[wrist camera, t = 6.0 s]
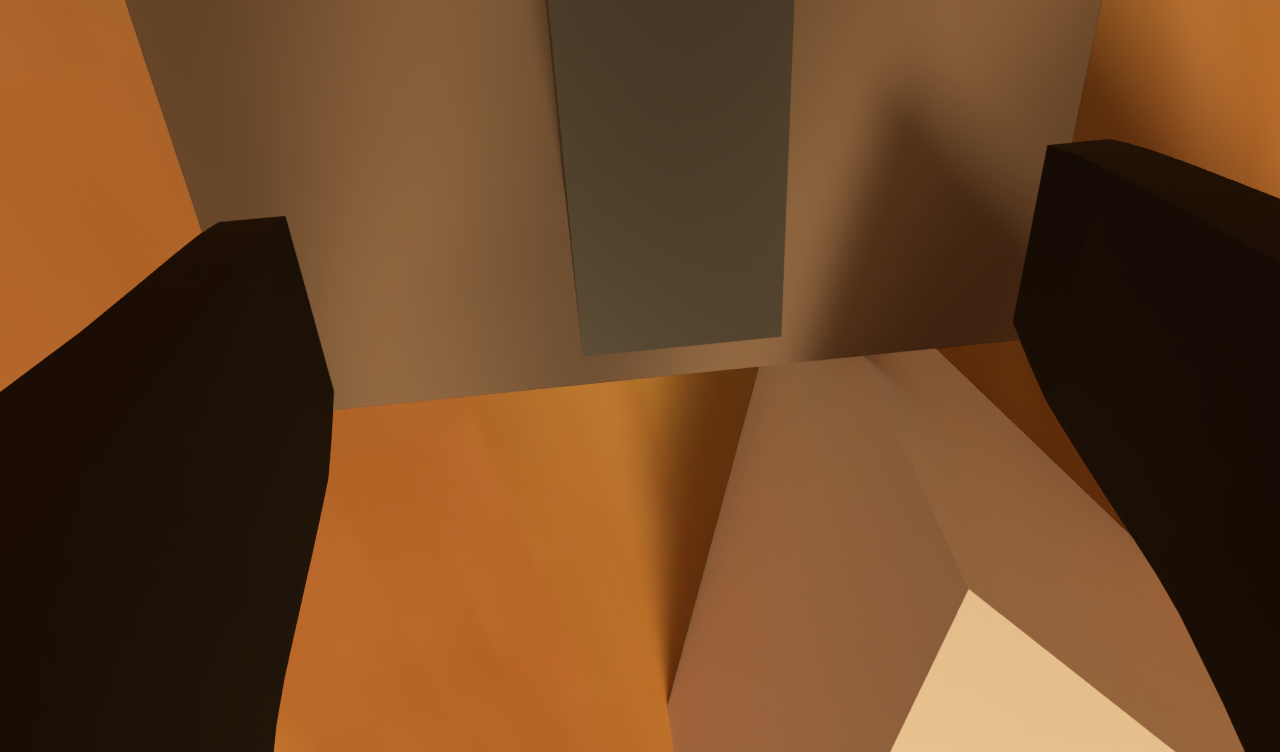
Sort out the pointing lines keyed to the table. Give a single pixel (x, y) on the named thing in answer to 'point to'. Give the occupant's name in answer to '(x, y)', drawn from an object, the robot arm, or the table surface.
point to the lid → (624, 174)
